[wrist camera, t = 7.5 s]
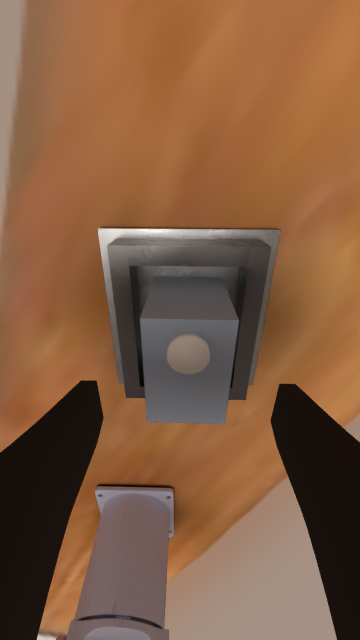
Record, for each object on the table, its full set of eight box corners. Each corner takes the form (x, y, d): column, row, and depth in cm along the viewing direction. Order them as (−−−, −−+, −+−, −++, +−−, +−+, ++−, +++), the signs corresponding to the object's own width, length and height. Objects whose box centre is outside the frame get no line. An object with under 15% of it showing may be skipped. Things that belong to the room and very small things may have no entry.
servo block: (214, 359, 18) (226, 432, 13) (157, 358, 18) (145, 430, 13) (221, 277, 15) (241, 326, 10) (154, 276, 15) (137, 324, 10)
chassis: (251, 380, 19) (259, 405, 17) (120, 378, 20) (112, 402, 17) (277, 228, 14) (294, 236, 12) (100, 227, 14) (84, 234, 12)
